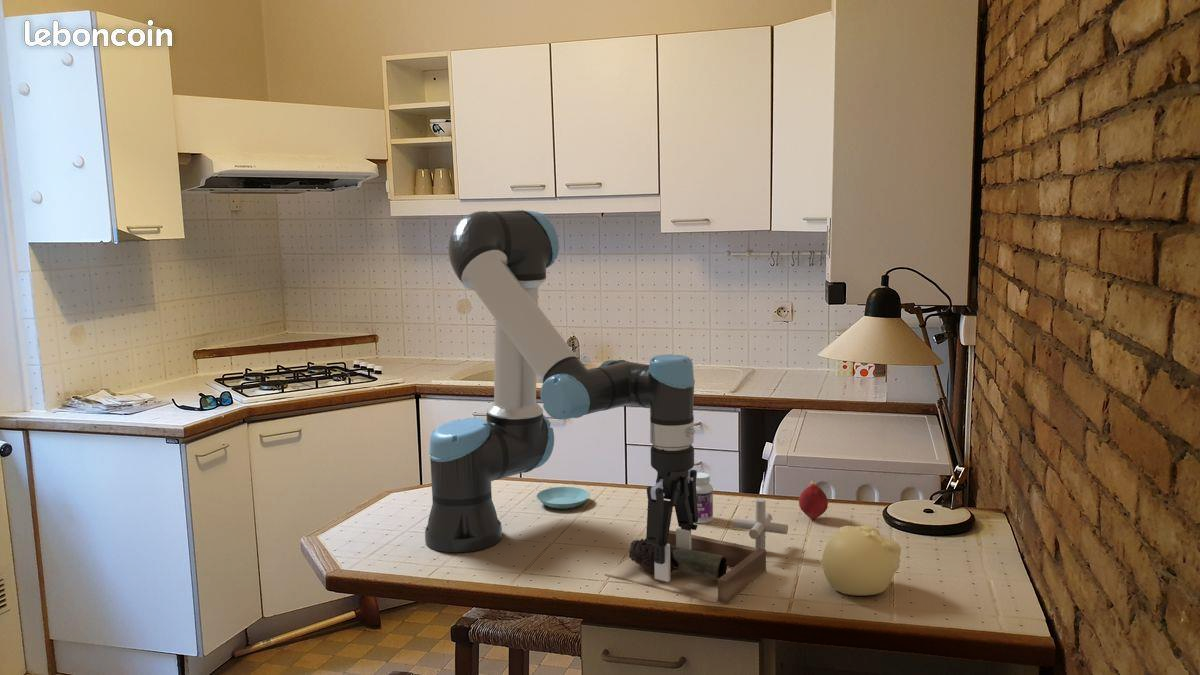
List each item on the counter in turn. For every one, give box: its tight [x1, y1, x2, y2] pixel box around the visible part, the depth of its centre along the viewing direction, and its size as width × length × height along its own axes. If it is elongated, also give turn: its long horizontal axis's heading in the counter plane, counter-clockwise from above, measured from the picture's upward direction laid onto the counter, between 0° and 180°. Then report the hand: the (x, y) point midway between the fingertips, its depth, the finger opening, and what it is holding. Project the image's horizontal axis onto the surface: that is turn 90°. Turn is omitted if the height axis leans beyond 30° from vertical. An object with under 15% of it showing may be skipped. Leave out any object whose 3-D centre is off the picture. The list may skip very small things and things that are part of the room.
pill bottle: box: [691, 472, 714, 524], centre depth 187 cm, size 5×5×10 cm
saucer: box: [535, 486, 591, 510], centre depth 199 cm, size 12×12×2 cm
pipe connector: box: [732, 498, 789, 550], centre depth 168 cm, size 10×10×10 cm
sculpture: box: [821, 525, 902, 596], centre depth 151 cm, size 12×12×11 cm
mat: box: [603, 557, 718, 604], centre depth 158 cm, size 22×11×1 cm, turn 56°
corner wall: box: [667, 529, 767, 605], centre depth 159 cm, size 23×16×4 cm
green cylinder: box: [628, 538, 728, 580], centre depth 157 cm, size 18×7×6 cm, turn 61°
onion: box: [798, 481, 829, 520], centre depth 185 cm, size 6×6×8 cm
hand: (673, 571), depth 158 cm, fingers closed on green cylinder, 7 cm apart
